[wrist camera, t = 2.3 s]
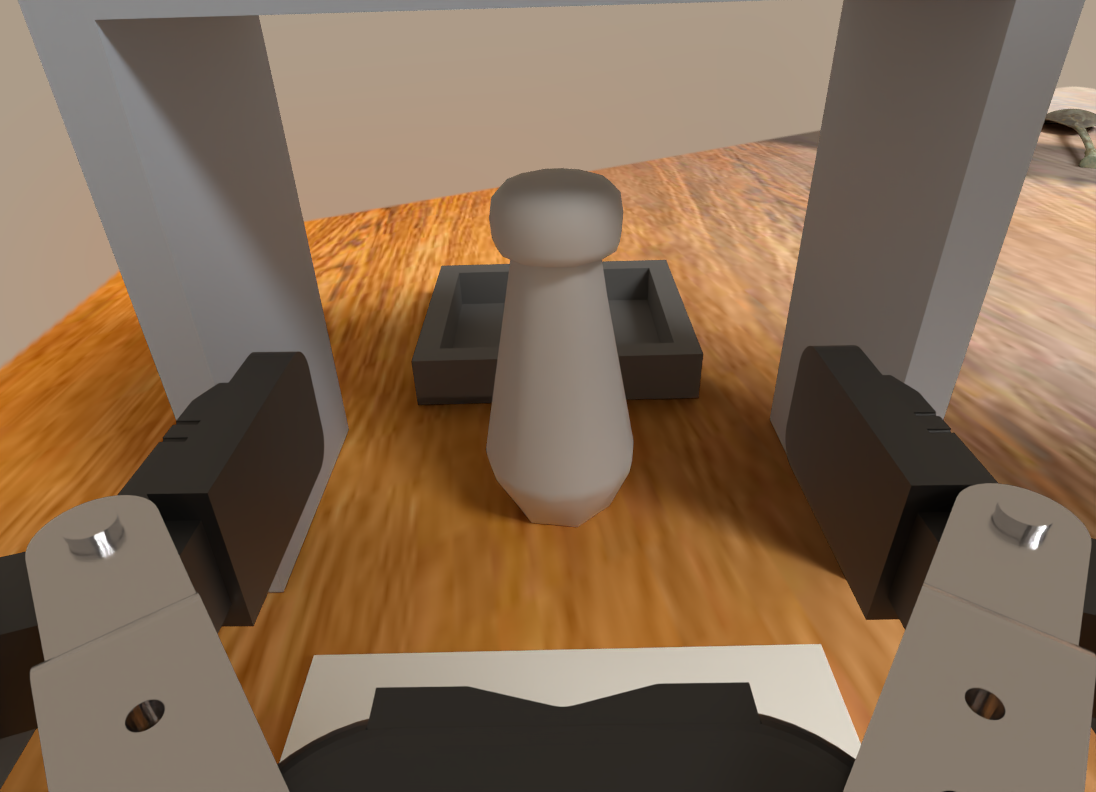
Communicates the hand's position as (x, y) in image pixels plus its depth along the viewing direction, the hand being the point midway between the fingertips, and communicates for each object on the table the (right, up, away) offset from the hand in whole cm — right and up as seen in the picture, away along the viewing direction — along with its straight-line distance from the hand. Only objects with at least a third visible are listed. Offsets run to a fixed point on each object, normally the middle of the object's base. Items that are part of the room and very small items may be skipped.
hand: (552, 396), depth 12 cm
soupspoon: (+57, +27, +64) cm, 90 cm away
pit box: (0, +3, +28) cm, 29 cm away
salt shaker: (+1, -4, +18) cm, 18 cm away
